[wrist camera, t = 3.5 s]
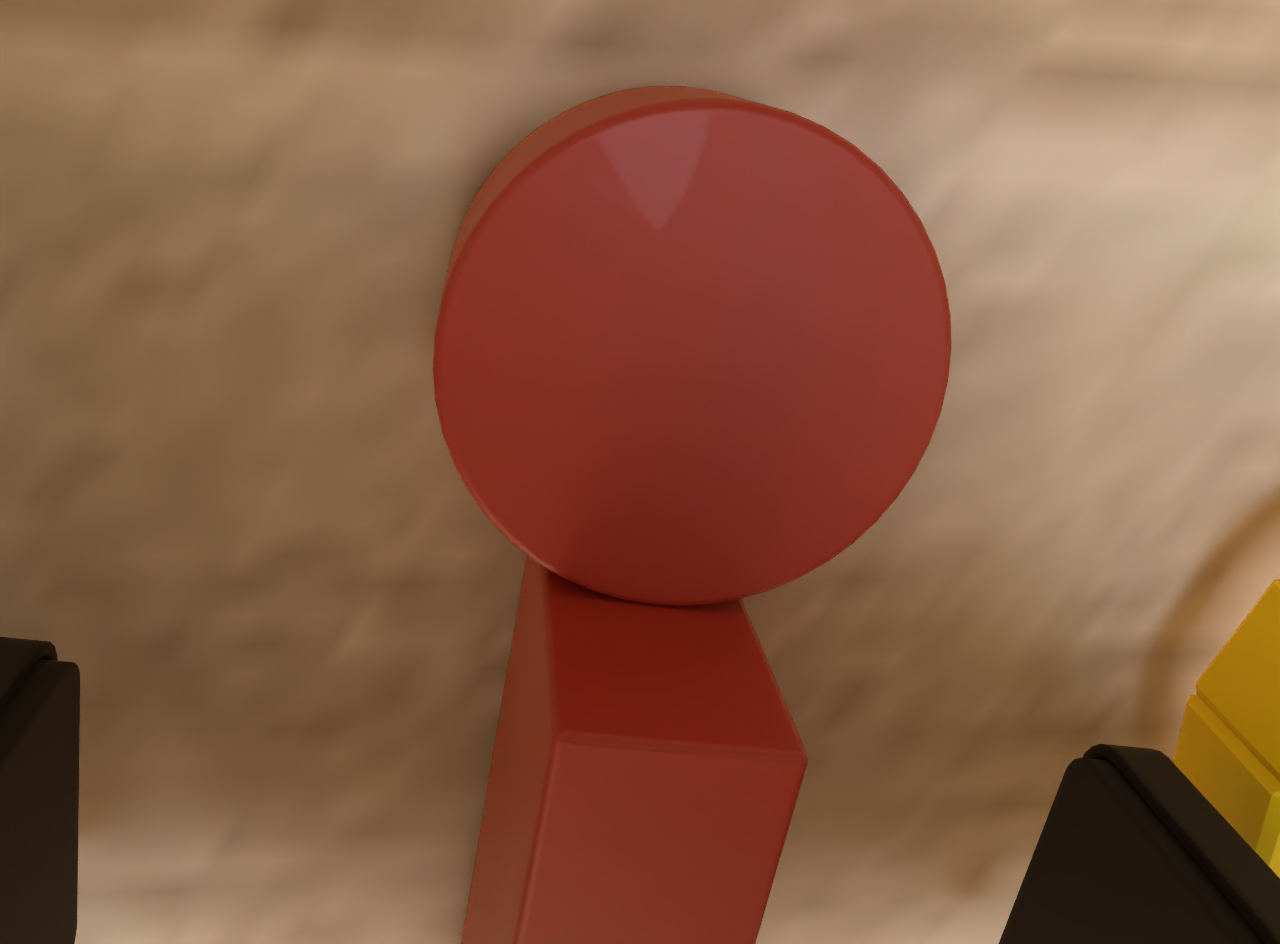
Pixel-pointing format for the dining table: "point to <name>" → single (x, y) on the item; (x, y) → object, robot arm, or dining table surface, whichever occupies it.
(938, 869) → the dining table surface
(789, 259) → the red disc on stick
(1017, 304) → the dining table surface
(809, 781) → the dining table surface
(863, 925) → the dining table surface
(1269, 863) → the watch
